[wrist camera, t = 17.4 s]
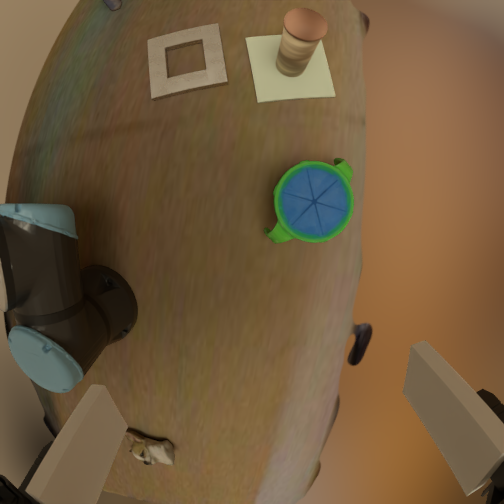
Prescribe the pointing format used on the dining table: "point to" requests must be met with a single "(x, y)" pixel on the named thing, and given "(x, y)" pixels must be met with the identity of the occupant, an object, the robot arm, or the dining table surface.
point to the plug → (299, 40)
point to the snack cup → (312, 202)
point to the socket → (190, 81)
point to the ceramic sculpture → (151, 449)
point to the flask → (113, 4)
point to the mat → (280, 86)
